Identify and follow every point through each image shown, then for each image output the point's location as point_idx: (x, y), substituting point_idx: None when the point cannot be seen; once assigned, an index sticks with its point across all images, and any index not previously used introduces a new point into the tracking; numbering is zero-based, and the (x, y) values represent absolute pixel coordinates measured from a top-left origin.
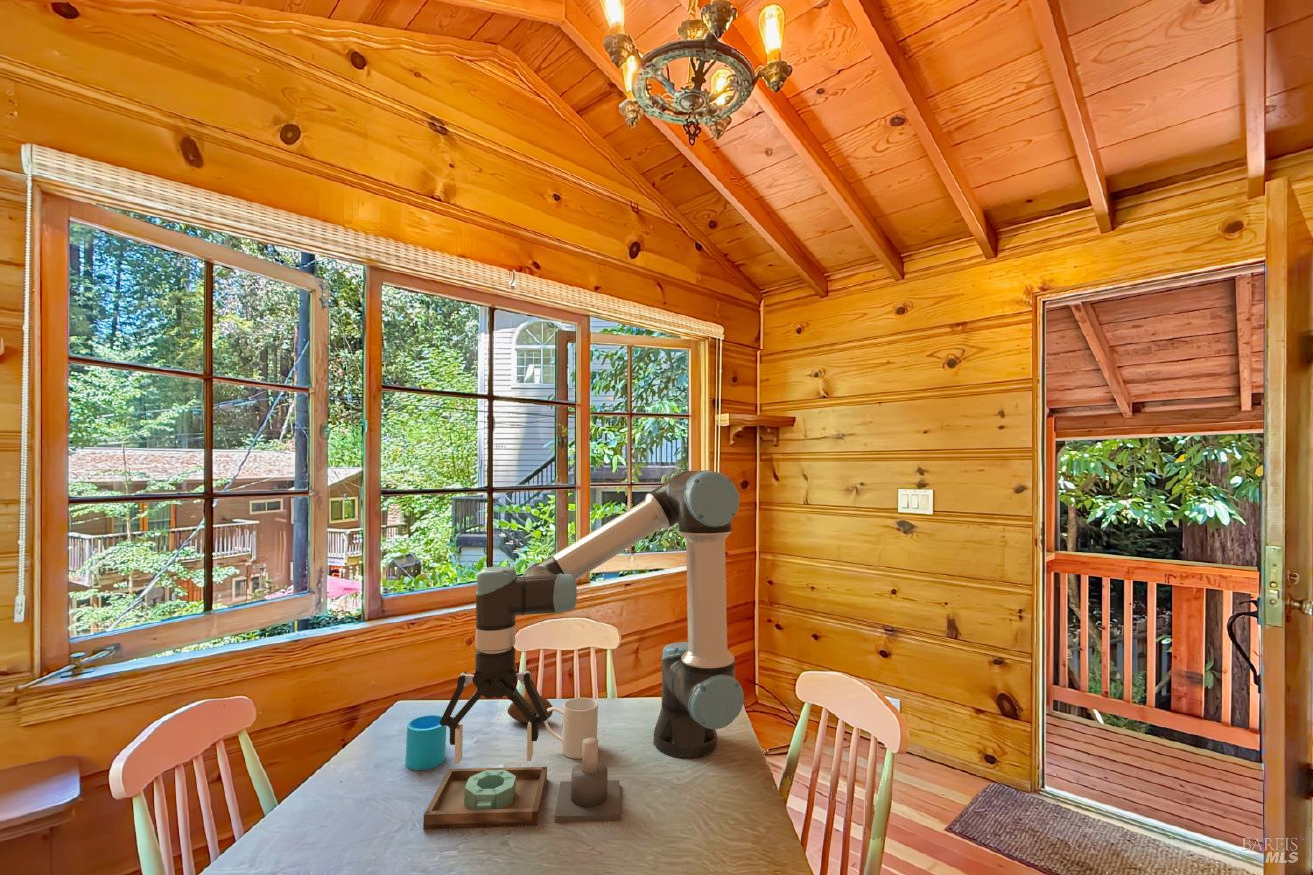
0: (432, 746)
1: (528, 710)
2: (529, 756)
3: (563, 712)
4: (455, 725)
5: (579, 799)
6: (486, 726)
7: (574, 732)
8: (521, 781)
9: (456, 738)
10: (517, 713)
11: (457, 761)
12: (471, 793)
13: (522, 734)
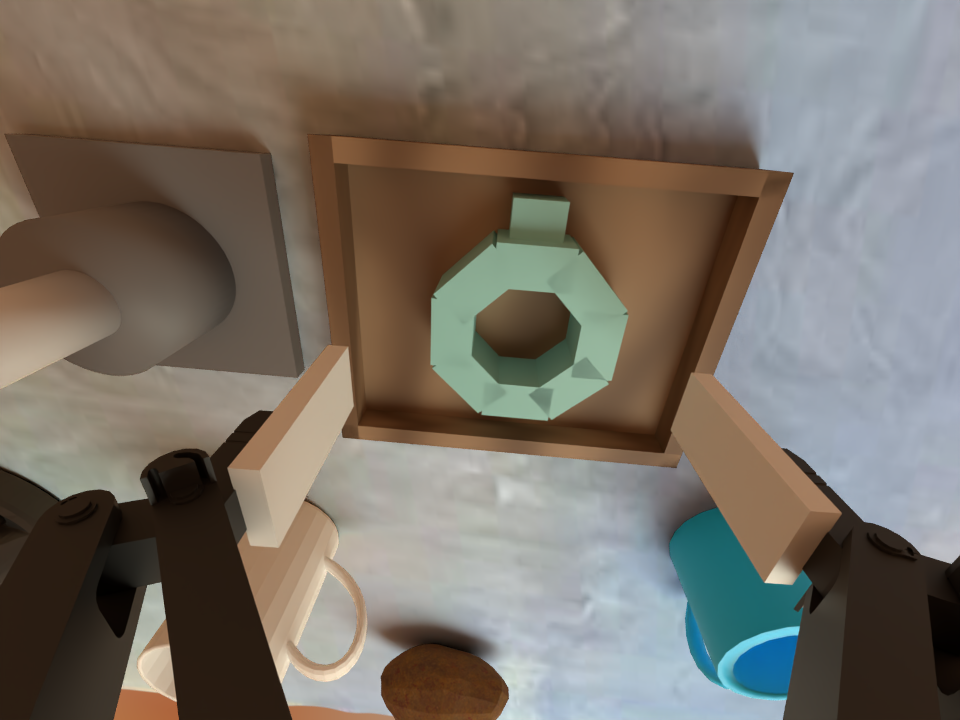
0: (740, 567)
1: (164, 598)
2: (327, 354)
3: (283, 651)
4: (860, 541)
5: (167, 218)
6: (560, 650)
7: (257, 566)
8: (428, 397)
9: (785, 461)
10: (479, 679)
11: (703, 379)
12: (598, 271)
13: (462, 611)
